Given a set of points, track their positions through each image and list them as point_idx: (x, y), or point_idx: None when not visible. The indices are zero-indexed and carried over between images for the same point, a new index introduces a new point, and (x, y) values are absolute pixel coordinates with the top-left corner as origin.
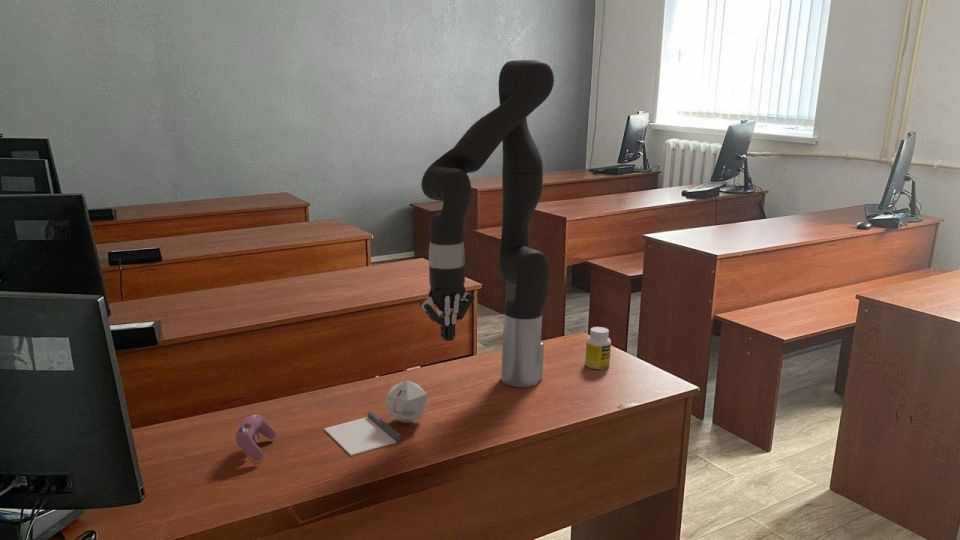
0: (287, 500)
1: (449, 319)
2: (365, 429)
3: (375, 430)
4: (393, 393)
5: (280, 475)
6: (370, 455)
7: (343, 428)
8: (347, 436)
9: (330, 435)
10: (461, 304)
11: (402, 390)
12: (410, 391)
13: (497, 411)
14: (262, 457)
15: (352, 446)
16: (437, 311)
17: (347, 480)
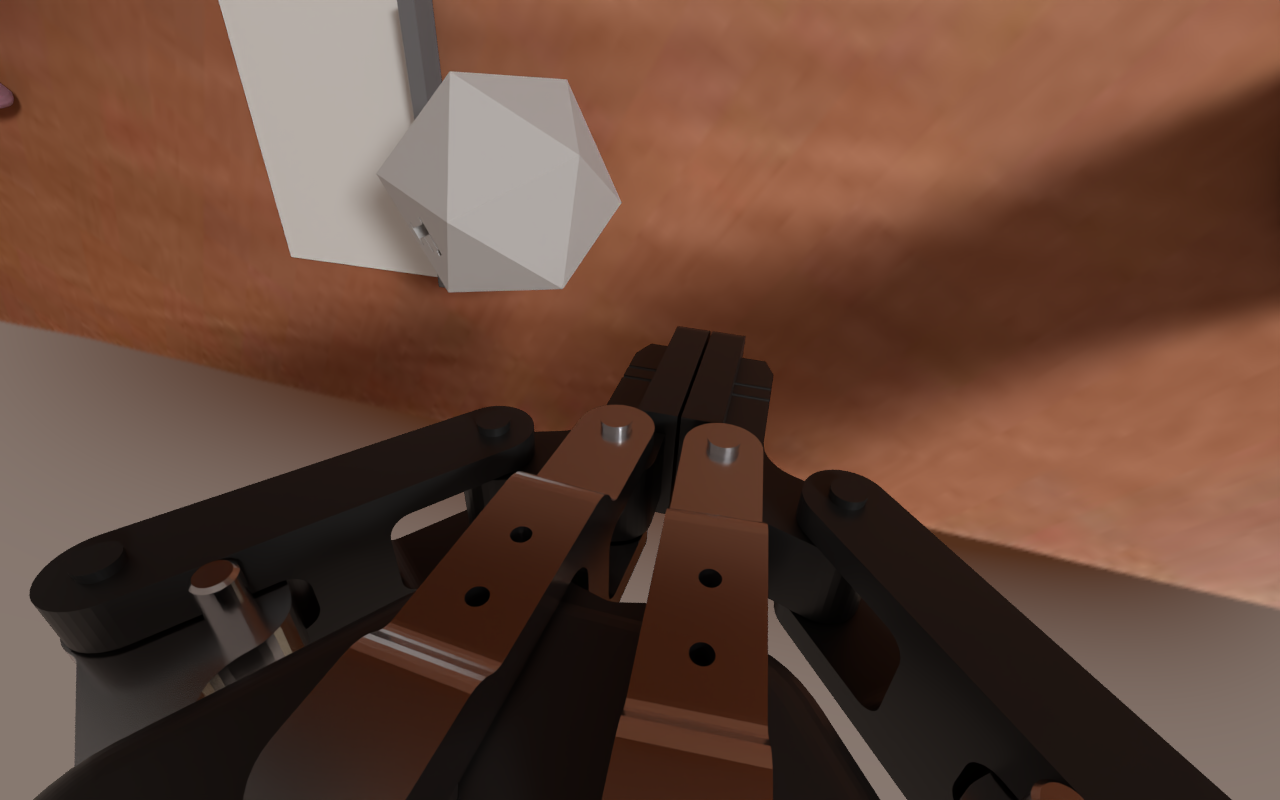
0: (130, 338)
1: (631, 572)
2: (371, 117)
3: None
4: (400, 200)
5: (97, 220)
6: (352, 289)
7: (291, 45)
8: (297, 126)
9: (240, 66)
10: (929, 722)
11: (432, 236)
12: (468, 266)
13: (942, 329)
14: (12, 103)
15: (303, 211)
16: (517, 480)
17: (270, 357)
